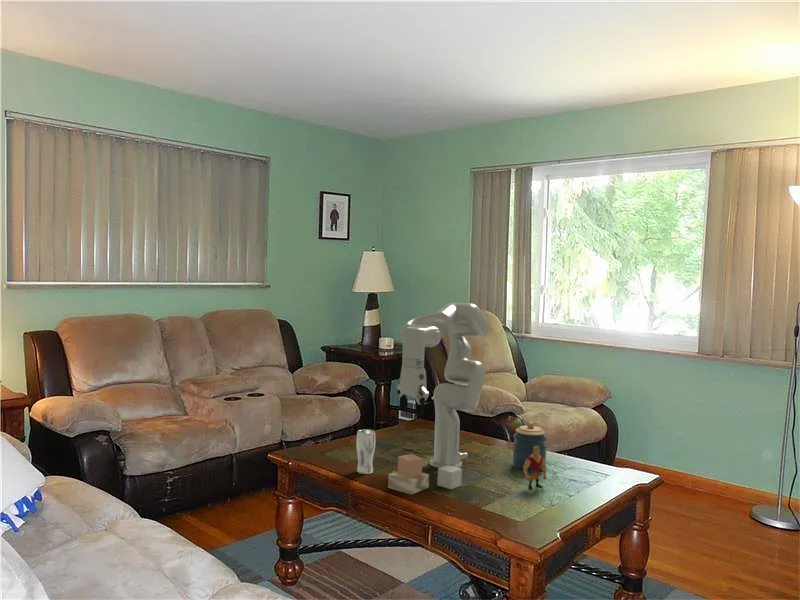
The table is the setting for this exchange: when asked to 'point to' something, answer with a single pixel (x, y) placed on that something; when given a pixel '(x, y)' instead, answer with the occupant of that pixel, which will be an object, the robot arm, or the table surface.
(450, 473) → the grey block
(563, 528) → the table surface
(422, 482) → the ash base block
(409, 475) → the terracotta block
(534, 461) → the action figure
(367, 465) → the beer glass
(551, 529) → the table surface
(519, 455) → the canister
